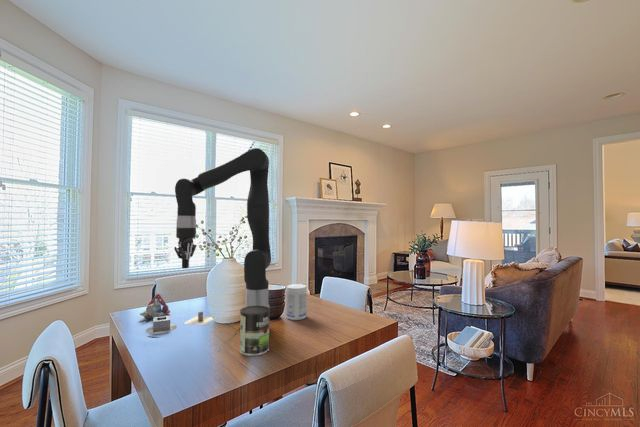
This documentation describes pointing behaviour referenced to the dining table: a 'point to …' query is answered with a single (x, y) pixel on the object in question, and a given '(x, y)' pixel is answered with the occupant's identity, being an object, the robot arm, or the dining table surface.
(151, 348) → the dining table surface
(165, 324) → the square socket block
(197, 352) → the dining table surface
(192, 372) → the dining table surface
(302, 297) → the supplement tub
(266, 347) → the coffee can
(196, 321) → the stand
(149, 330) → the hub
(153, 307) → the brake caliper
